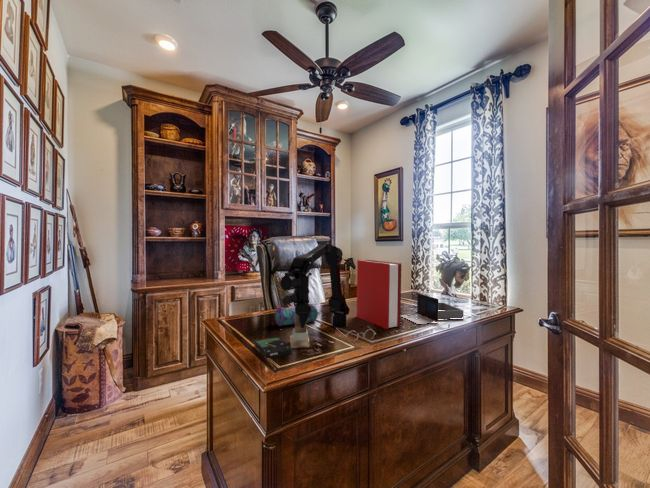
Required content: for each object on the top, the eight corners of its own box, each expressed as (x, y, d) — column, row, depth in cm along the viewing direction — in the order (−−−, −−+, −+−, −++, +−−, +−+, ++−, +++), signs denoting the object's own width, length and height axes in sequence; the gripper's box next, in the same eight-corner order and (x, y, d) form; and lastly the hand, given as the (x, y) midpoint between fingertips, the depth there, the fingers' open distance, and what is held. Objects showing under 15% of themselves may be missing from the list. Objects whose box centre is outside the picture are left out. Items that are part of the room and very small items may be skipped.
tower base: (307, 341, 127) (307, 334, 127) (309, 348, 120) (309, 340, 120) (290, 342, 126) (290, 335, 126) (290, 348, 119) (290, 341, 119)
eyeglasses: (344, 343, 126) (344, 331, 126) (331, 330, 144) (331, 320, 144) (378, 340, 130) (379, 329, 130) (362, 328, 148) (362, 318, 148)
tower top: (306, 335, 126) (306, 328, 126) (307, 340, 120) (308, 333, 120) (292, 336, 125) (292, 328, 125) (293, 340, 120) (293, 333, 119)
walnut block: (305, 328, 126) (305, 314, 126) (306, 332, 121) (306, 317, 121) (295, 329, 125) (295, 314, 125) (295, 332, 121) (295, 317, 121)
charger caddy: (443, 310, 185) (443, 302, 185) (463, 319, 164) (463, 310, 164) (416, 311, 182) (416, 303, 182) (434, 320, 162) (434, 311, 162)
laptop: (398, 316, 170) (399, 294, 169) (417, 315, 174) (417, 292, 173) (418, 325, 153) (418, 300, 152) (438, 323, 157) (438, 299, 156)
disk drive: (292, 355, 113) (278, 342, 125) (292, 348, 113) (278, 336, 125) (266, 360, 107) (254, 347, 120) (266, 353, 107) (254, 340, 120)
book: (400, 327, 148) (401, 263, 148) (388, 329, 144) (389, 263, 144) (366, 314, 172) (367, 259, 172) (355, 316, 168) (355, 260, 168)
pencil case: (309, 319, 162) (309, 301, 162) (318, 323, 155) (318, 304, 155) (273, 324, 151) (274, 305, 151) (281, 329, 144) (281, 309, 143)
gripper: (282, 283, 131) (281, 319, 131) (282, 291, 112) (282, 332, 113) (307, 283, 133) (306, 318, 133) (311, 291, 114) (311, 331, 114)
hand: (301, 324), depth 123 cm, fingers open, 9 cm apart
